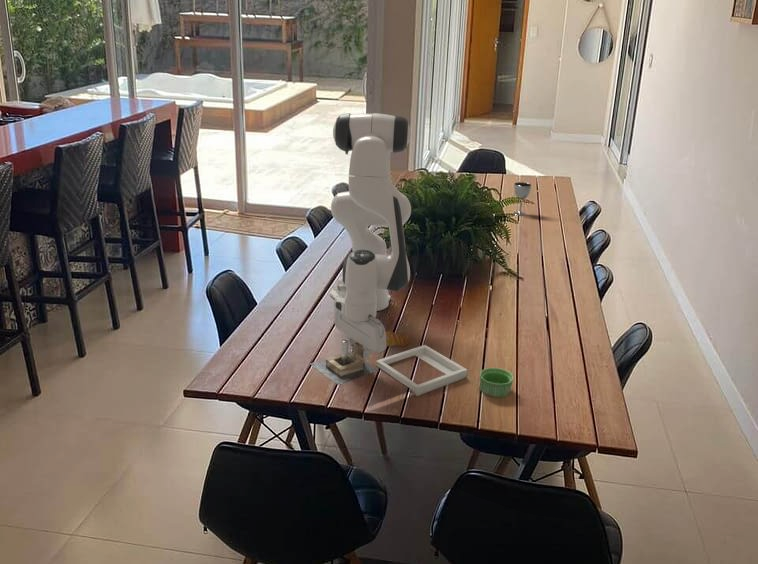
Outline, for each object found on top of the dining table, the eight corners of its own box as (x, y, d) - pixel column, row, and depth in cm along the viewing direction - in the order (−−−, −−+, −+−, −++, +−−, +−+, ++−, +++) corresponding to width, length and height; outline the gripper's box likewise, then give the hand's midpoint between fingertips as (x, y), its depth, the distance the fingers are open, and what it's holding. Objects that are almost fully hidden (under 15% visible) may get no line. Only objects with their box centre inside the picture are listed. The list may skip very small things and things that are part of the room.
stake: (309, 366, 199) (309, 337, 196) (350, 354, 207) (351, 326, 204) (337, 388, 189) (337, 358, 185) (379, 373, 197) (380, 344, 193)
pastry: (404, 338, 218) (405, 327, 217) (411, 348, 212) (411, 336, 211) (375, 340, 216) (375, 329, 215) (380, 350, 210) (381, 339, 209)
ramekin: (508, 381, 195) (509, 367, 194) (515, 398, 187) (516, 384, 185) (475, 381, 195) (477, 367, 193) (481, 398, 187) (482, 383, 185)
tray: (375, 368, 199) (376, 360, 198) (424, 352, 210) (425, 344, 209) (416, 396, 186) (417, 388, 185) (466, 377, 196) (467, 369, 195)
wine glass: (508, 211, 355) (511, 182, 349) (522, 211, 357) (526, 182, 351) (516, 216, 348) (519, 186, 342) (530, 215, 350) (534, 185, 344)
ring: (325, 365, 198) (325, 346, 196) (354, 356, 204) (355, 337, 201) (340, 376, 192) (341, 356, 190) (370, 366, 198) (371, 347, 196)
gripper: (392, 320, 188) (390, 366, 193) (349, 294, 203) (348, 338, 208) (373, 325, 185) (372, 372, 190) (330, 299, 200) (330, 343, 205)
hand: (359, 354), depth 199 cm, fingers open, 4 cm apart
